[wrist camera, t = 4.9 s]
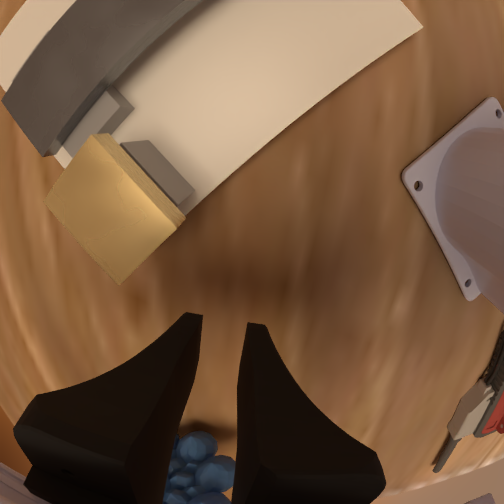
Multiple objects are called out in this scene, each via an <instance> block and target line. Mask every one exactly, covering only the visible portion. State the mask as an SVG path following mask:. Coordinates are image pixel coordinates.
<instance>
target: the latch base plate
mask: <svg viewBox="0 0 504 504" xmlns="http://www.w3.org/2000/svg"><path fill="white" fill-rule="evenodd" d="M75 1H76V0H27V1H26V2H25V3H24V4H23V6H22V7H21V8H20V9H19V11H18V12H17V13H16V15H15V16H14V17H13V19H12V20H11V21H10V23H9V24H8V25H7V27H6V28H5V30H4V31H3V33H2V34H1V35H0V85H1V86H2V88H3V89H4V90H5V92H7V90H8V89H9V87H10V85H11V84H12V82H13V81H14V79H15V77H16V76H17V74H18V73H19V71H20V70H21V68H22V67H23V65H24V64H25V63H26V61H27V60H28V58H29V57H30V56H31V54H32V53H33V51H34V50H35V49H36V47H37V46H38V45H39V43H40V42H41V41H42V40H43V38H44V37H45V36H46V34H47V33H48V32H49V31H50V30H51V28H52V27H53V26H54V25H55V23H56V22H57V21H58V20H59V19H60V18H61V17H62V15H63V14H64V13H65V12H66V11H67V10H68V9H69V8H70V6H71V5H72V4H73V3H74V2H75ZM422 28H423V26H422V25H421V24H420V23H419V21H418V20H417V19H416V18H415V17H414V15H413V14H412V13H411V12H410V11H409V10H408V8H407V7H406V6H405V5H404V4H403V3H402V2H401V1H400V0H203V1H201V2H200V3H199V4H198V5H196V6H195V7H194V8H192V9H191V10H190V11H189V12H187V13H186V14H185V15H184V16H183V17H181V18H180V19H179V20H178V21H177V22H175V23H174V24H173V25H172V26H171V27H169V28H168V29H167V30H166V31H165V32H164V33H163V34H162V35H160V36H159V37H158V38H157V39H156V40H155V41H154V42H153V43H152V44H151V45H150V46H149V47H147V48H146V49H145V50H144V51H143V52H142V53H141V54H140V55H139V56H138V57H137V58H136V59H135V60H134V61H133V62H132V63H131V64H130V65H129V66H128V67H127V68H126V69H125V70H124V72H123V73H122V74H121V75H120V76H119V77H118V78H117V79H116V80H115V81H114V82H113V83H112V84H111V86H110V87H109V88H108V89H107V90H106V91H105V92H104V93H103V94H102V96H101V97H100V98H99V99H98V100H97V101H96V103H95V104H94V105H93V106H92V107H91V109H90V110H89V111H88V112H87V114H86V115H85V116H84V117H83V119H82V120H81V121H80V122H79V124H78V125H77V126H76V128H75V129H74V130H73V132H72V133H71V134H70V136H69V137H68V138H67V140H66V141H65V143H64V144H63V145H62V147H61V148H60V150H59V151H58V153H57V154H56V155H54V157H55V158H56V159H57V160H58V162H59V163H60V164H61V165H62V166H63V168H64V169H65V168H66V167H67V166H68V164H69V163H70V162H71V160H72V159H73V157H74V156H75V155H76V153H77V152H78V151H79V149H80V148H81V147H82V146H83V144H84V143H85V142H86V140H87V139H88V138H89V137H90V135H91V134H104V133H109V134H110V135H111V136H112V137H113V139H114V140H115V141H116V142H117V143H118V144H119V145H120V146H121V147H122V149H123V150H124V151H125V152H126V153H127V154H128V155H129V156H130V157H131V158H132V159H133V161H134V162H135V163H136V164H137V165H138V166H139V167H140V168H141V169H142V170H143V171H144V173H145V174H146V175H147V176H148V177H149V178H150V179H151V180H152V181H153V182H154V183H155V184H156V186H157V187H158V188H159V189H160V190H161V191H162V192H163V193H164V194H165V195H166V196H167V197H168V198H169V200H170V201H171V202H172V203H173V204H174V205H175V206H176V207H177V208H178V209H179V210H180V211H181V212H182V213H183V214H184V216H185V215H187V214H188V213H189V212H190V211H191V210H192V209H193V208H194V207H195V206H196V205H197V204H198V203H199V202H201V201H202V200H203V199H204V198H205V197H206V196H207V195H208V194H209V193H210V192H211V191H213V190H214V189H215V188H216V187H217V186H218V185H219V184H220V183H221V182H223V181H224V180H225V179H226V178H227V177H228V176H229V175H231V174H232V173H233V172H234V171H235V170H236V169H237V168H239V167H240V166H241V165H242V164H243V163H244V162H245V161H247V160H248V159H249V158H250V157H251V156H252V155H254V154H255V153H256V152H257V151H258V150H259V149H261V148H262V147H263V146H264V145H265V144H267V143H268V142H269V141H270V140H271V139H273V138H274V137H275V136H276V135H277V134H279V133H280V132H281V131H282V130H284V129H285V128H286V127H287V126H288V125H290V124H291V123H292V122H293V121H295V120H296V119H297V118H298V117H300V116H301V115H302V114H303V113H305V112H306V111H307V110H309V109H310V108H311V107H312V106H314V105H315V104H316V103H317V102H319V101H320V100H321V99H323V98H324V97H325V96H327V95H328V94H329V93H331V92H332V91H333V90H334V89H336V88H337V87H338V86H340V85H341V84H342V83H344V82H345V81H347V80H348V79H349V78H351V77H352V76H353V75H355V74H356V73H357V72H359V71H360V70H362V69H363V68H364V67H366V66H367V65H369V64H370V63H371V62H373V61H374V60H376V59H377V58H379V57H380V56H381V55H383V54H384V53H386V52H387V51H389V50H390V49H392V48H393V47H395V46H396V45H397V44H399V43H400V42H402V41H403V40H405V39H406V38H408V37H409V36H411V35H413V34H414V33H416V32H417V31H419V30H420V29H422Z"/></svg>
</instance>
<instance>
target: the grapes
mask: <svg viewBox="0 0 504 504" xmlns="http://www.w3.org/2000/svg"><path fill="white" fill-rule="evenodd" d="M217 450H218V448H217V441H216V440H215V438H214V437H213V436H212V435H211V434H210V433H207V432H204V431H196V432H191V433H188V434H187V435H185V436H184V437H182V438H181V439H180V440H179V435H178V434H177V433H176V437H175V441H174V446H173V450H172V455H171V460H170V465H169V470H168V475H167V480H166V486H165V492H164V497H163V503H162V504H231V501H230V500H229V499H228V498H227V497H226V496H225V495H224V494H222V492H225V491H227V490H228V489H230V488H231V487H232V486H233V482H234V473H235V463H236V462H235V461H234V460H233V459H232V458H231V457H228V456H224V455H219V456H215V454H216V452H217Z"/></svg>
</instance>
